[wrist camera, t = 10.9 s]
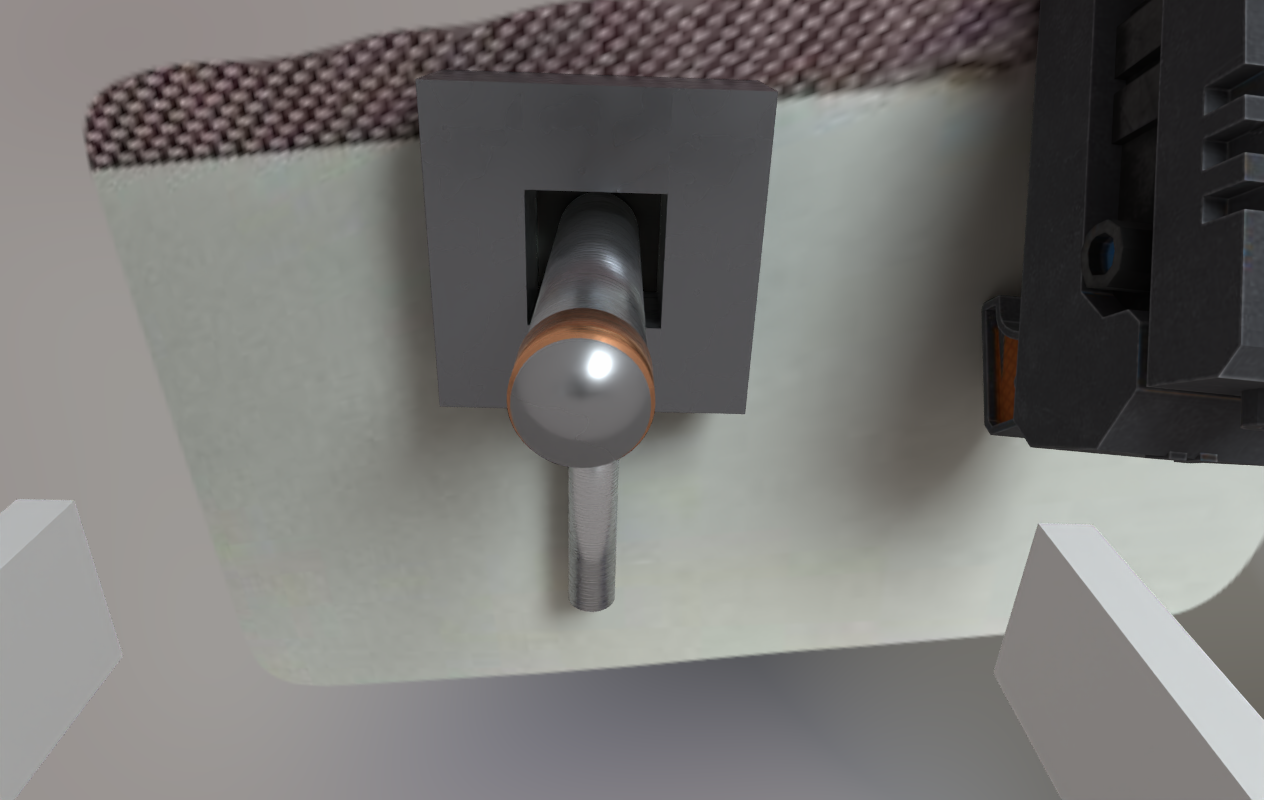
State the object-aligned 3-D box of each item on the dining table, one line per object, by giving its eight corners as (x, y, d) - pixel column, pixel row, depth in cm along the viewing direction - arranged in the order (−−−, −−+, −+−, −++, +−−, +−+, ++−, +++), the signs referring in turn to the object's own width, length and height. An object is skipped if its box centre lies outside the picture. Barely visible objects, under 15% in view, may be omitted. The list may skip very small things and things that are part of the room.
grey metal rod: (555, 187, 31) (502, 334, 17) (642, 190, 31) (659, 339, 17) (556, 272, 32) (507, 470, 18) (639, 274, 32) (652, 473, 18)
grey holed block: (441, 69, 29) (415, 79, 25) (758, 80, 29) (778, 91, 25) (471, 565, 38) (456, 625, 34) (713, 570, 38) (722, 630, 34)
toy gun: (930, 454, 32) (1234, 448, 17) (959, -19, 34) (1260, -400, 19) (1082, 468, 33) (1507, 473, 18) (1103, -1, 34) (1512, -360, 19)
